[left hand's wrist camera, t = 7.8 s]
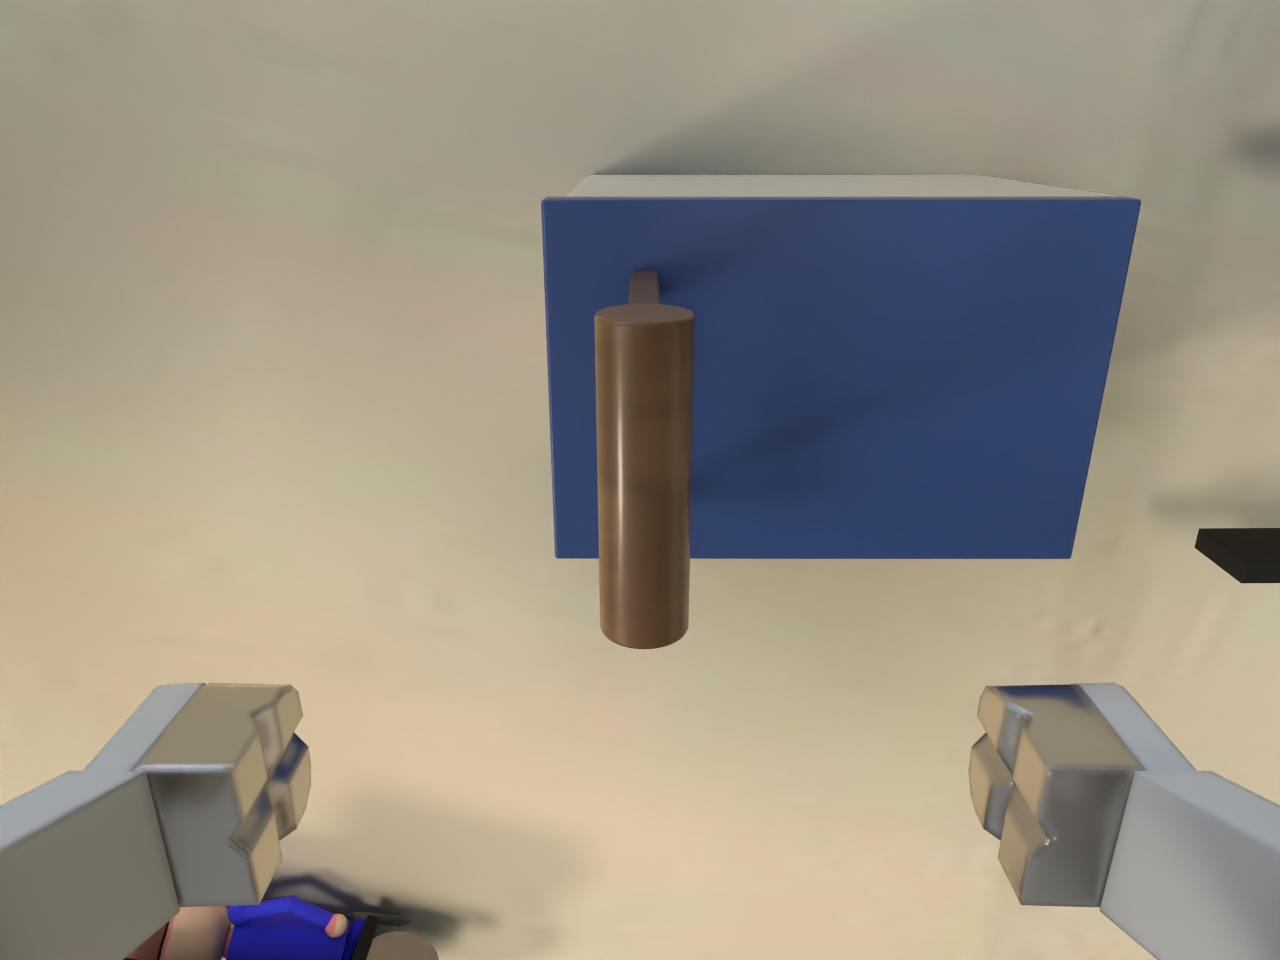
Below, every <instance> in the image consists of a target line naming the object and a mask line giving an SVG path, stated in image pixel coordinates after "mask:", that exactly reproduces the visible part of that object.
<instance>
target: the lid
mask: <svg viewBox="0 0 1280 960" xmlns="http://www.w3.org/2000/svg"><path fill="white" fill-rule="evenodd" d="M1140 205H1141V200H1139V199H1135V198H1128V197H1121V196H1090V197H546V198H544V199H543V200H542V202H541V210H542V235H543V261H544V286H545V311H546V337H547V362H548V387H549V412H550V438H551V463H552V488H553V514H554V539H555V556H556V558H599V580H600V627H601V630H602V632H603V633H604V635H605V636H606V637H607V638H608V639H609V640H611V641H612V642H614V643H616V644H619V645H621V646H625V647H629V648H635V649H654V648H660V647H664V646H668V645H670V644H673V643H675V642H677V641H678V640H680V639H681V638H682V637H683V636H684V635H685V633H686V631H687V629H688V620H689V575H690V558H749V559H1069V558H1071V555H1072V550H1073V545H1074V539H1075V534H1076V529H1077V524H1078V519H1079V514H1080V509H1081V504H1082V499H1083V494H1084V489H1085V484H1086V479H1087V474H1088V469H1089V464H1090V458H1091V453H1092V448H1093V443H1094V438H1095V433H1096V428H1097V423H1098V418H1099V413H1100V408H1101V403H1102V398H1103V393H1104V388H1105V382H1106V377H1107V372H1108V367H1109V362H1110V357H1111V352H1112V347H1113V342H1114V337H1115V332H1116V327H1117V322H1118V317H1119V312H1120V306H1121V301H1122V296H1123V291H1124V286H1125V281H1126V276H1127V271H1128V266H1129V261H1130V256H1131V251H1132V246H1133V241H1134V236H1135V231H1136V225H1137V220H1138V215H1139V210H1140Z"/></svg>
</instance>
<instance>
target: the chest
mask: <svg viewBox="0 0 1280 960" xmlns="http://www.w3.org/2000/svg"><path fill="white" fill-rule="evenodd" d="M1090 196H1116V195H1110V194H1103V193H1096V192H1090V191H1083V190H1076V189H1070V188H1063V187H1056V186H1050V185H1043V184H1037V183H1030V182H1023V181H1017V180H1010V179H1003V178H997V177H990V176H982V175H590V176H588V177H587V178H586V179H585V180H584V181H583V182H582V183H581V184H579V185H578V186H577V187H576V188H575V189H574V190H573V191H572V192H571V193H570V194H569V195H568V196H567V197H1090Z"/></svg>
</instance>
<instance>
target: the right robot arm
mask: <svg viewBox="0 0 1280 960" xmlns="http://www.w3.org/2000/svg"><path fill="white" fill-rule="evenodd" d="M1195 548H1196V549H1197V550H1199V551H1200V552H1201V553H1202V554H1204V555H1205V556H1206V557H1208V558H1209V559H1210V560H1212V561H1213V562H1214V563H1216V564H1217V565H1218V566H1219V567H1221V568H1222V569H1223V570H1225V571H1226V572H1227V573H1229V574H1230V575H1231V576H1232V577H1234V578H1235V579H1236V580H1238V581H1239V582H1240V583H1280V528H1224V529H1199V532H1198V536H1197V540H1196V544H1195Z"/></svg>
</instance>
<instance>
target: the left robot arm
mask: <svg viewBox="0 0 1280 960" xmlns="http://www.w3.org/2000/svg"><path fill="white" fill-rule="evenodd" d="M302 716H303V713H302V708H301V703H300V698H299V693H298V691H297V690H296V689H295V688H294V687H293V686H291V685H273V684H226V683H209V684H205V683H166V684H163V685H160V686H157V687H156V688H155V689H154V690H153V691H152V692H151V693H150V694H149V695H148V697H147V698H146V699H145V700H144V701H143V702H142V704H141V705H140V706H139V707H138V708H137V709H136V710H135V712H134V713H133V714H132V715H131V716H130V717H129V718H128V720H127V721H126V722H125V723H124V724H123V725H122V726H121V728H120V729H119V730H118V731H117V732H116V733H115V734H114V736H113V737H112V738H111V739H110V740H109V741H108V743H107V744H106V745H105V746H104V747H103V748H102V749H101V751H100V752H99V753H98V754H97V755H96V756H95V757H94V759H93V760H92V761H91V762H90V763H89V764H88V765H87V767H86V768H85V769H84V770H83V771H68V772H66V773H64V774H62V775H60V776H58V777H56V778H54V779H52V780H50V781H48V782H46V783H44V784H42V785H40V786H38V787H36V788H34V789H32V790H30V791H28V792H26V793H24V794H22V795H20V796H18V797H16V798H14V799H12V800H10V801H8V802H7V803H5V804H3V805H1V806H0V960H123V959H124V958H126V957H127V956H128V955H129V954H130V953H132V952H133V951H134V950H135V949H136V948H137V947H139V946H140V945H141V944H142V943H143V942H145V941H146V940H147V939H148V938H149V937H151V936H152V935H153V934H154V933H155V932H156V931H158V930H159V929H160V928H161V927H162V926H164V925H165V924H166V923H167V922H168V921H170V920H171V919H172V918H173V917H174V916H175V915H177V914H178V913H179V912H180V907H206V906H240V905H259V904H260V902H261V900H262V898H263V896H264V894H265V892H266V890H267V888H268V886H269V884H270V882H271V880H272V878H273V876H274V874H275V872H276V870H277V868H278V866H279V864H280V862H281V860H282V854H281V848H280V843H279V841H280V840H281V839H282V838H284V837H285V836H287V835H288V834H289V833H291V832H292V831H294V830H295V829H297V827H298V824H299V822H300V820H301V818H302V816H303V814H304V811H305V809H306V805H307V800H308V795H309V791H310V786H311V761H310V755H309V748H308V746H307V745H306V744H305V743H304V742H303V741H302V740H301V739H300V738H299V737H298V736H297V735H296V734H295V733H294V731H295V729H296V727H297V725H298V724H299V722H300V720H301V718H302ZM977 716H978V718H979V720H980V722H981V724H982V725H983V727H984V729H985V731H986V733H985V734H984V735H983V736H982V737H981V738H980V739H979V740H978V741H977V742H976V743H975V744H974V745H973V746H972V748H971V756H970V764H969V781H970V793H971V797H972V801H973V804H974V808H975V812H976V814H977V816H978V818H979V820H980V822H981V825H982V827H983V829H985V830H986V831H988V832H989V833H991V834H992V835H993V836H995V837H996V838H998V839H999V840H1000V841H1001V843H1000V849H999V854H998V860H999V862H1000V864H1001V866H1002V868H1003V870H1004V872H1005V874H1006V876H1007V878H1008V880H1009V882H1010V884H1011V886H1012V888H1013V890H1014V892H1015V894H1016V896H1017V898H1018V900H1019V902H1020V904H1021V905H1038V906H1073V907H1100V912H1101V913H1103V914H1104V915H1105V916H1106V917H1107V918H1109V919H1110V920H1111V921H1112V922H1113V923H1114V924H1116V925H1117V926H1118V927H1119V928H1120V929H1122V930H1123V931H1124V932H1125V933H1126V934H1127V935H1129V936H1130V937H1131V938H1132V939H1133V940H1135V941H1136V942H1137V943H1138V944H1139V945H1141V946H1142V947H1143V948H1144V949H1145V950H1146V951H1148V952H1149V953H1150V954H1151V955H1152V956H1154V957H1155V958H1156V959H1157V960H1280V806H1279V805H1277V804H1275V803H1273V802H1271V801H1269V800H1267V799H1265V798H1263V797H1261V796H1259V795H1258V794H1256V793H1254V792H1252V791H1250V790H1248V789H1246V788H1244V787H1242V786H1240V785H1238V784H1236V783H1234V782H1232V781H1230V780H1228V779H1226V778H1224V777H1222V776H1220V775H1218V774H1216V773H1214V772H1212V771H1197V770H1196V769H1195V768H1194V767H1193V765H1192V764H1191V763H1190V762H1189V761H1188V760H1187V759H1186V757H1185V756H1184V755H1183V754H1182V753H1181V752H1180V751H1179V749H1178V748H1177V747H1176V746H1175V745H1174V744H1173V743H1172V741H1171V740H1170V739H1169V738H1168V737H1167V736H1166V735H1165V733H1164V732H1163V731H1162V730H1161V729H1160V728H1159V726H1158V725H1157V724H1156V723H1155V722H1154V721H1153V720H1152V718H1151V717H1150V716H1149V715H1148V714H1147V713H1146V712H1145V710H1144V709H1143V708H1142V707H1141V706H1140V705H1139V704H1138V702H1137V701H1136V700H1135V699H1134V698H1133V697H1132V696H1131V694H1130V693H1129V692H1128V691H1127V690H1126V689H1125V688H1124V687H1123V686H1120V685H1118V684H1116V683H1114V682H1111V683H1080V684H1071V685H1018V686H986V687H985V689H984V691H983V693H982V695H981V697H980V701H979V707H978V712H977Z"/></svg>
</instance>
